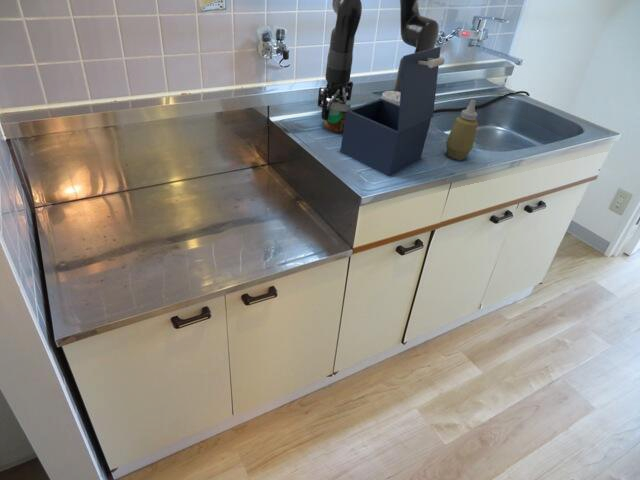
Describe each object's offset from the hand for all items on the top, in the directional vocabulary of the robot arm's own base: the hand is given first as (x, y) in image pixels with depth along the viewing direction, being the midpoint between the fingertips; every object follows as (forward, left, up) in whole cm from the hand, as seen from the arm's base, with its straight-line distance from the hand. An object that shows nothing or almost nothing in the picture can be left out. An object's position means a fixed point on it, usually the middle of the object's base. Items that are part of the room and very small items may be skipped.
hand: (332, 116), depth 151 cm
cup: (-15, +13, -4) cm, 20 cm away
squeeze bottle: (-18, +37, -4) cm, 41 cm away
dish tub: (+2, +22, -4) cm, 22 cm away
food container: (0, 0, -4) cm, 4 cm away
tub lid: (+2, +29, +19) cm, 34 cm away
